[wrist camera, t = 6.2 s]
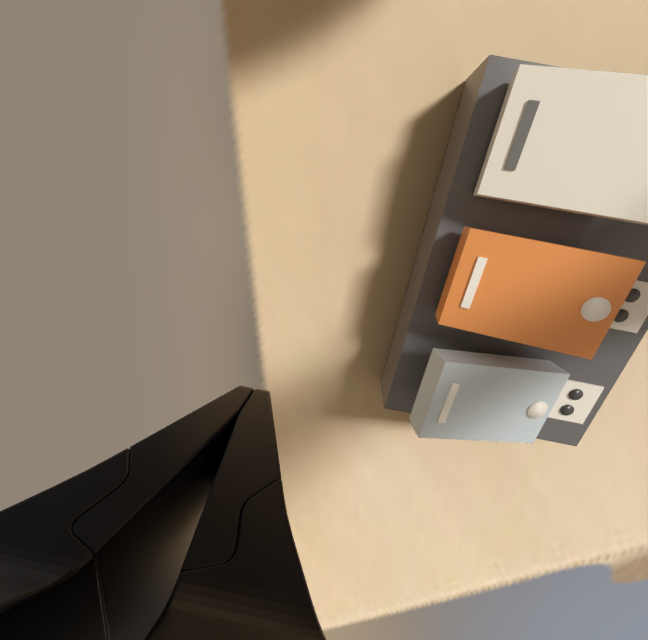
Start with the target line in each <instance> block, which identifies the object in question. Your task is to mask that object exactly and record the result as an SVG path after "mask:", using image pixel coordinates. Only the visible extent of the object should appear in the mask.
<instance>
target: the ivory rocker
mask: <svg viewBox="0 0 648 640" xmlns="http://www.w3.org/2000/svg"><path fill="white" fill-rule="evenodd" d="M473 195H474V196H479V197H485V198H491V199H497V200H503V201H508V202H514V203H520V204H526V205H532V206H538V207H543V208H549V209H555V210H561V211H567V212H572V213H578V214H584V215H590V216H596V217H602V218H607V219H613V220H619V221H625V222H631V223H636V224H642V225H648V75H642V74H630V73H619V72H607V71H595V70H583V69H572V68H560V67H548V66H536V65H525V64H520V65H519V67H518V68H517V70H516V71H515V73H514V75H513V76H512V78H511V80H510V83H509V86H508V89H507V92H506V95H505V98H504V102H503V105H502V108H501V111H500V114H499V117H498V120H497V123H496V126H495V129H494V132H493V135H492V138H491V141H490V145H489V148H488V151H487V154H486V157H485V160H484V163H483V166H482V169H481V172H480V175H479V178H478V181H477V184H476V187H475V191H474V194H473Z"/></svg>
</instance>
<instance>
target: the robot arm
mask: <svg viewBox="0 0 648 640" xmlns="http://www.w3.org/2000/svg"><path fill="white" fill-rule="evenodd" d="M0 640H326V638H325V635H324V633H323V631H322V628H321V626H320V624H319V621H318V618H317V615H316V612H315V609H314V606H313V603H312V600H311V597H310V593H309V590H308V587H307V583H306V580H305V576H304V573H303V569H302V566H301V563H300V559H299V556H298V552H297V549H296V546H295V542H294V539H293V535H292V531H291V527H290V523H289V519H288V515H287V510H286V504H285V499H284V493H283V486H282V481H281V472H280V465H279V457H278V450H277V442H276V435H275V427H274V420H273V412H272V405H271V398H270V392H269V391H265V390H260V389H256V390H254V389H253V388H250V387H245V386H239V387H237V388H235V389H233V390H231V391H230V392H228V393H226V394H224V395H223V396H221V397H219V398H217V399H215V400H213V401H212V402H210V403H208V404H206V405H204V406H203V407H201V408H199V409H197V410H195V411H194V412H192V413H190V414H188V415H186V416H185V417H183V418H181V419H179V420H177V421H176V422H174V423H172V424H170V425H169V426H167V427H165V428H163V429H161V430H160V431H158V432H156V433H154V434H152V435H151V436H149V437H147V438H146V439H143V440H142V441H140V442H138V443H136V444H134V445H133V446H131V447H130V450H129V449H125V450H123V451H122V452H120V453H118V454H116V455H114V456H113V457H111V458H109V459H107V460H105V461H103V462H101V463H99V464H98V465H96V466H94V467H92V468H90V469H89V470H86V471H85V472H82V473H80V474H78V475H76V476H74V477H72V478H70V479H68V480H66V481H64V482H62V483H60V484H58V485H56V486H54V487H52V488H50V489H47V490H45V491H43V492H41V493H39V494H37V495H34V496H32V497H30V498H28V499H26V500H24V501H22V502H19V503H17V504H15V505H13V506H11V507H9V508H7V509H4V510H2V511H0Z"/></svg>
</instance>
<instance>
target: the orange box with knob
mask: <svg viewBox="0 0 648 640" xmlns="http://www.w3.org/2000/svg"><path fill="white" fill-rule="evenodd" d="M645 264H646V262H645V261H640V260H636V259H632V258H627V257H623V256H617V255H612V254H607V253H602V252H596V251H591V250H586V249H581V248H575V247H570V246H565V245H560V244H554V243H549V242H544V241H539V240H533V239H528V238H523V237H518V236H512V235H507V234H502V233H497V232H491V231H486V230H481V229H476V228H471V227H465V226H464V228H463V231H462V234H461V237H460V240H459V243H458V246H457V249H456V252H455V255H454V258H453V261H452V264H451V267H450V271H449V274H448V277H447V280H446V283H445V286H444V289H443V292H442V295H441V298H440V301H439V304H438V307H437V310H436V313H435V316H436V319H437V322H438V324H440V325H444V326H449V327H453V328H457V329H462V330H466V331H470V332H474V333H479V334H483V335H487V336H492V337H496V338H500V339H505V340H509V341H513V342H517V343H522V344H526V345H530V346H535V347H539V348H543V349H548V350H552V351H556V352H560V353H565V354H569V355H573V356H578V357H582V358H586V359H591V360H592V359H593V357H594V355H595V353H596V351H597V350H598V348H599V346H600V344H601V342H602V341H603V339H604V337H605V335H606V333H607V332H608V330H609V328H610V326H611V324H612V323H613V321H614V319H615V317H616V316H617V314H618V312H619V310H620V308H621V307H622V305H623V303H624V301H625V299H626V298H627V296H628V294H629V292H630V290H631V289H632V287H633V285H634V283H635V281H636V280H637V278H638V276H639V274H640V273H641V271H642V269H643V267H644V265H645Z"/></svg>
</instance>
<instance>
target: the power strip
mask: <svg viewBox="0 0 648 640" xmlns="http://www.w3.org/2000/svg"><path fill="white" fill-rule="evenodd" d="M520 64H525V65H536V66H548V67H556V66H550V65H545V64H539V63H533V62H528V61H522V60H516V59H511V58H505V57H499V56H494V55H489V56H488V57H487V58H486V59H485V61H484V62H483V63H482V64H481V65H480V66H479V67H478V68H477V69H476V70H475V71H474V72H473V73H472V74H471V75H470V76H469V77H468V78H467V79H466V82H465V85H464V89H463V93H462V96H461V100H460V103H459V107H458V110H457V114H456V117H455V121H454V124H453V128H452V131H451V135H450V139H449V142H448V146H447V149H446V153H445V156H444V160H443V163H442V167H441V170H440V174H439V178H438V181H437V185H436V188H435V192H434V195H433V199H432V202H431V206H430V209H429V213H428V216H427V220H426V224H425V227H424V231H423V234H422V238H421V241H420V245H419V248H418V252H417V255H416V259H415V263H414V266H413V270H412V273H411V277H410V280H409V284H408V287H407V291H406V294H405V298H404V301H403V305H402V309H401V312H400V316H399V319H398V323H397V326H396V330H395V333H394V337H393V340H392V344H391V348H390V351H389V355H388V358H387V362H386V365H385V369H384V372H383V376H382V379H381V387H382V394H383V401H384V408H387V409H392V410H397V411H402V412H407V413H411V412H412V409H413V406H414V403H415V400H416V397H417V394H418V391H419V388H420V385H421V382H422V379H423V376H424V373H425V370H426V367H427V364H428V361H429V358H430V355H431V353H432V350H433V348H438V349H448V350H457V351H467V352H476V353H485V354H495V355H504V356H514V357H523V358H533V359H542V360H550V361H551V362H553V363H554V364H556V365H557V366H559V367H560V368H562V369H563V370H565V371H567V372H568V373H570V376H569V378H568V380H567V382H566V384H565V385H564V387H563V389H562V391H561V393H560V395H559V397H558V398H557V400H556V402H555V404H554V406H553V408H552V410H551V411H550V413H549V415H548V417H547V419H546V421H545V423H544V424H543V426H542V428H541V430H540V432H539V434H538V435H537V437H536V438H537V439H542V440H547V441H552V442H557V443H562V444H567V445H572V446H577V445H578V443H579V441H580V440H581V438H582V436H583V435H584V433H585V431H586V430H587V428H588V426H589V425H590V423H591V422H592V420H593V418H594V417H595V415H596V413H597V412H598V410H599V408H600V407H601V405H602V403H603V402H604V400H605V399H606V397H607V395H608V394H609V392H610V390H611V389H612V387H613V385H614V384H615V382H616V380H617V379H618V377H619V375H620V374H621V372H622V371H623V369H624V367H625V366H626V364H627V362H628V361H629V359H630V357H631V356H632V354H633V352H634V351H635V349H636V348H637V346H638V344H639V343H640V341H641V339H642V338H643V336H644V334H645V333H646V331H647V329H648V225H642V224H636V223H631V222H625V221H619V220H613V219H607V218H602V217H596V216H590V215H584V214H578V213H572V212H567V211H561V210H555V209H549V208H543V207H538V206H532V205H526V204H520V203H514V202H508V201H503V200H497V199H491V198H485V197H479V196H474V195H473V194H474V191H475V187H476V184H477V181H478V178H479V175H480V172H481V169H482V166H483V163H484V160H485V157H486V154H487V151H488V148H489V145H490V141H491V138H492V135H493V132H494V129H495V126H496V123H497V120H498V117H499V114H500V111H501V108H502V105H503V102H504V98H505V95H506V92H507V89H508V86H509V83H510V80H511V78H512V76H513V75H514V73H515V71H516V70H517V68H518V67H519V65H520ZM560 68H561V67H560ZM464 226H465V227H471V228H476V229H481V230H486V231H491V232H497V233H502V234H507V235H512V236H518V237H523V238H528V239H533V240H539V241H544V242H549V243H554V244H560V245H565V246H570V247H575V248H581V249H586V250H591V251H596V252H602V253H607V254H612V255H617V256H623V257H627V258H632V259H636V260H640V261H645V262H646V264H645V265H644V267H643V269H642V271H641V273H640V274H639V276H638V278H637V280H636V281H635V283H634V285H633V287H632V289H631V290H630V292H629V294H628V296H627V298H626V299H625V301H624V303H623V305H622V307H621V308H620V310H619V312H618V314H617V316H616V317H615V319H614V321H613V323H612V324H611V326H610V328H609V330H608V332H607V333H606V335H605V337H604V339H603V341H602V342H601V344H600V346H599V348H598V350H597V351H596V353H595V355H594V357H593V359H592V360H591V359H586V358H582V357H578V356H573V355H569V354H565V353H560V352H556V351H552V350H548V349H543V348H539V347H535V346H530V345H526V344H522V343H517V342H513V341H509V340H505V339H500V338H496V337H492V336H487V335H483V334H479V333H474V332H470V331H466V330H462V329H457V328H453V327H449V326H444V325H440V324H438V322H437V319H436V316H435V313H436V310H437V307H438V304H439V301H440V298H441V295H442V292H443V289H444V286H445V283H446V280H447V277H448V274H449V271H450V267H451V264H452V261H453V258H454V255H455V252H456V249H457V246H458V243H459V240H460V237H461V234H462V231H463V228H464Z"/></svg>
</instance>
